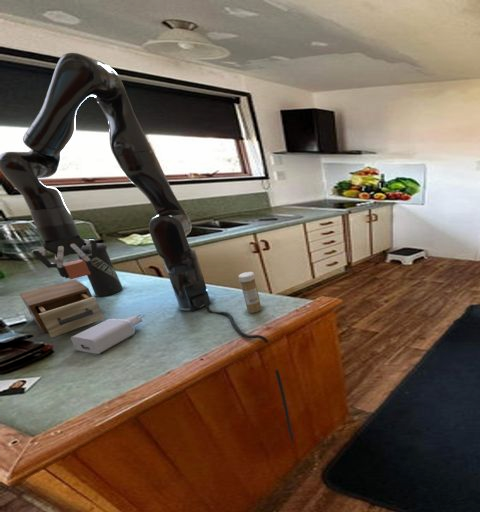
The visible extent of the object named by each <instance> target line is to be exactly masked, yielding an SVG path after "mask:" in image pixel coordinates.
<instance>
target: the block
mask: <svg viewBox="0 0 480 512" xmlns="http://www.w3.org/2000/svg"><path fill="white" fill-rule="evenodd" d="M63 266H64V267H65V269H66V271H67V274H68V276H69V278H68V279H70V280H74V279H77V278H78V279H79V278H82V277H85V276H87V275H90V271H89V269H88V267H87V265H86V262H85V261H83V260H82V259H76V260H72V261H66V262H63Z"/></svg>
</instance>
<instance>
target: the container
mask: <svg viewBox="0 0 480 512" xmlns="http://www.w3.org/2000/svg"><path fill="white" fill-rule="evenodd" d="M107 249H108V245H107V244H106V243H102V242H100V243H99V242H97V257H96V258H93V259H91V264H92V266H93V270H91V271H92V272H90V275H86V276H87V278H88V281H89V284H90V285H91V288H92V290H93V292H94V295H95V297H105V296H106V297H107V296H110V295H114V294H117V293H119V292H121V291H122V290H123V288H124V287H123V285H122V283H121V281H120V279H119V276H118V274H117V272H116V269H115V267H114V264H113V262H112V260H111V258H110V256H109V253H108V251H107ZM81 250H82V251H83V252H84V253H85V254H86V255H87V256H88V255H90V252H89V246H88V245H87V244H86V245H83V246H82V248H81ZM77 256H78V260H80V259H82V258H81V257H80V256H79V255H78V254H77ZM82 260H83V259H82ZM83 261H84V260H83Z"/></svg>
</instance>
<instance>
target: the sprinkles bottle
mask: <svg viewBox="0 0 480 512" xmlns="http://www.w3.org/2000/svg"><path fill="white" fill-rule="evenodd" d="M255 277H256V276H255V273H254V272H253V271H244V272H242V273H240V274H238V280H239V283H240V287H241V290H242V295H243V298H244V303H245V306H246V309H247V310H246V312H247V313H249V314H255V313H258V312H260V311H261V310H262V305H261V299H260V295H259V291H258V288H257V283H256V278H255Z"/></svg>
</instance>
